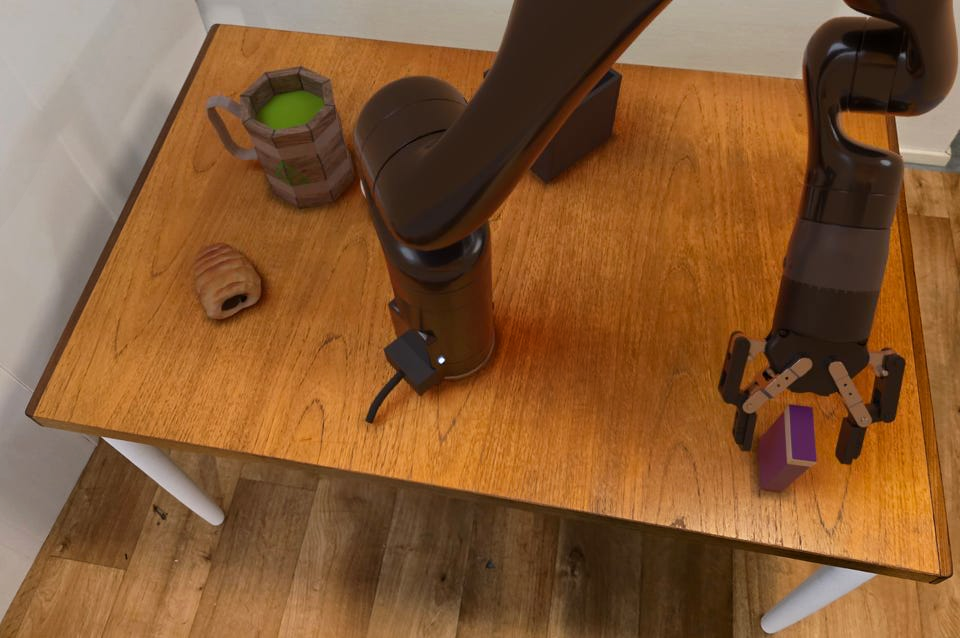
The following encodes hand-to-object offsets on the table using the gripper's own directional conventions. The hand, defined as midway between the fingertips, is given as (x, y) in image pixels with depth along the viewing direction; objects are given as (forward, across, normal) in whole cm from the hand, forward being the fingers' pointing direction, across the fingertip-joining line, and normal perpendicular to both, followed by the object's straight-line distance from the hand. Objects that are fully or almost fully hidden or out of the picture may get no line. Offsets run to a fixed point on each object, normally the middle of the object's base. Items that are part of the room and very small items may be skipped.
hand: (792, 454), depth 66 cm
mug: (-18, -56, +26) cm, 64 cm away
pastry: (-5, -59, +14) cm, 61 cm away
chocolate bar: (+4, 0, +5) cm, 6 cm away
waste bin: (-24, -26, +33) cm, 48 cm away
